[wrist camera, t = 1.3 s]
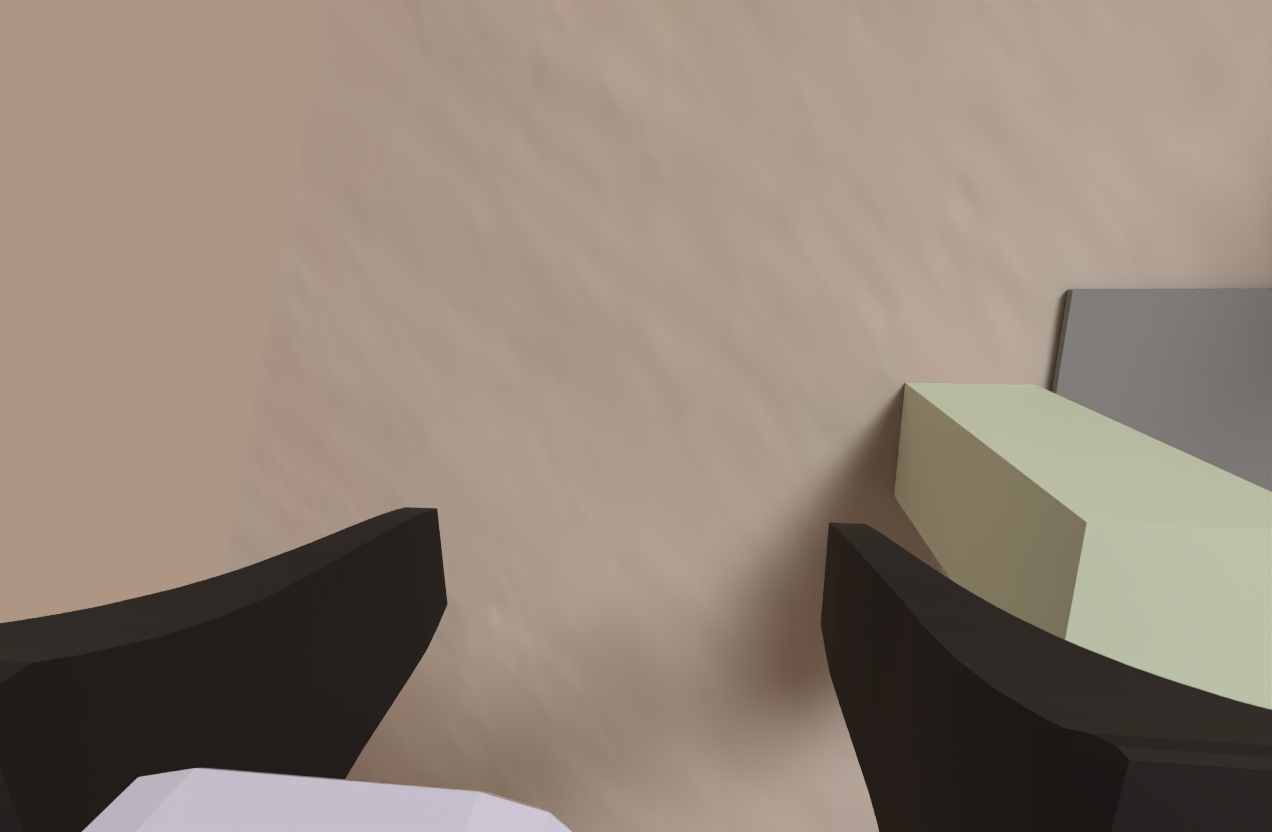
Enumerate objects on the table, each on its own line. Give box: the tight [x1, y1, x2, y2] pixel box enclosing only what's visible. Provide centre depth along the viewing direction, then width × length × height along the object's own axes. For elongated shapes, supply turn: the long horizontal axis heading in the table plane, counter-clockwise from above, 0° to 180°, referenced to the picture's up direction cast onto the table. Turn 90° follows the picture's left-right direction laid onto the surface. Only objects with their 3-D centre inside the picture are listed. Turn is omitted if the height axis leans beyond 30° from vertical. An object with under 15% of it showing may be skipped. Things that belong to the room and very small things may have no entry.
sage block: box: [894, 383, 1272, 710], centre depth 16 cm, size 4×4×11 cm
